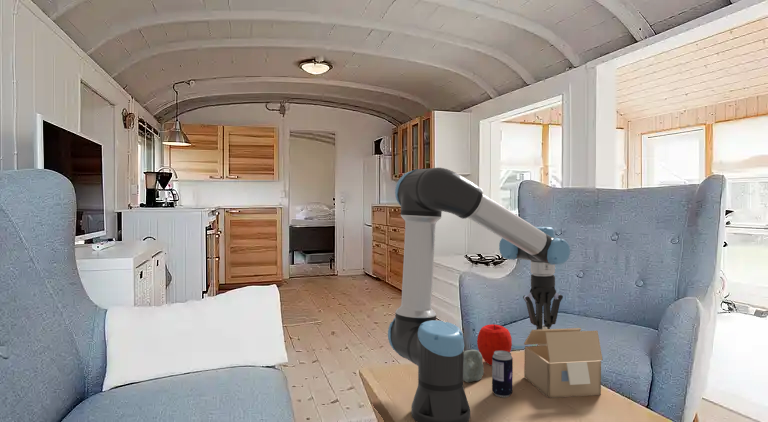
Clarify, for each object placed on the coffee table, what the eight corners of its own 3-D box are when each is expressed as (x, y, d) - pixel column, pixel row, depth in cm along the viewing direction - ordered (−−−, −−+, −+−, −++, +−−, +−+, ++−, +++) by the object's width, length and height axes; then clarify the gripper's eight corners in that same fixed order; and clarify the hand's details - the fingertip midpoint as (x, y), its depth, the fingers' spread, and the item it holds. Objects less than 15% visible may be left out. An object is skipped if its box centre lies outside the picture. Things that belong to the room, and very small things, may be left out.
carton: (548, 398, 137) (548, 363, 137) (524, 377, 153) (524, 346, 153) (600, 395, 139) (601, 361, 139) (571, 374, 155) (572, 344, 155)
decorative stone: (490, 385, 146) (492, 353, 152) (458, 374, 144) (462, 342, 150) (469, 392, 157) (471, 362, 162) (439, 382, 154) (443, 352, 160)
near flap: (552, 385, 134) (553, 385, 134) (545, 332, 139) (545, 332, 138) (605, 382, 137) (606, 382, 136) (596, 330, 141) (597, 330, 141)
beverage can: (512, 399, 136) (513, 356, 136) (492, 397, 137) (492, 355, 137) (511, 391, 142) (512, 350, 141) (491, 389, 143) (492, 349, 142)
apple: (518, 368, 161) (519, 328, 160) (486, 371, 158) (486, 330, 158) (502, 357, 172) (502, 319, 172) (471, 359, 170) (471, 321, 169)
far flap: (532, 331, 147) (531, 329, 148) (518, 354, 157) (518, 352, 158) (581, 329, 149) (580, 327, 150) (564, 352, 159) (564, 350, 160)
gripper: (528, 277, 153) (529, 350, 154) (567, 275, 155) (568, 348, 156) (518, 273, 161) (519, 343, 161) (556, 271, 162) (556, 341, 163)
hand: (543, 345), depth 159 cm, fingers closed
